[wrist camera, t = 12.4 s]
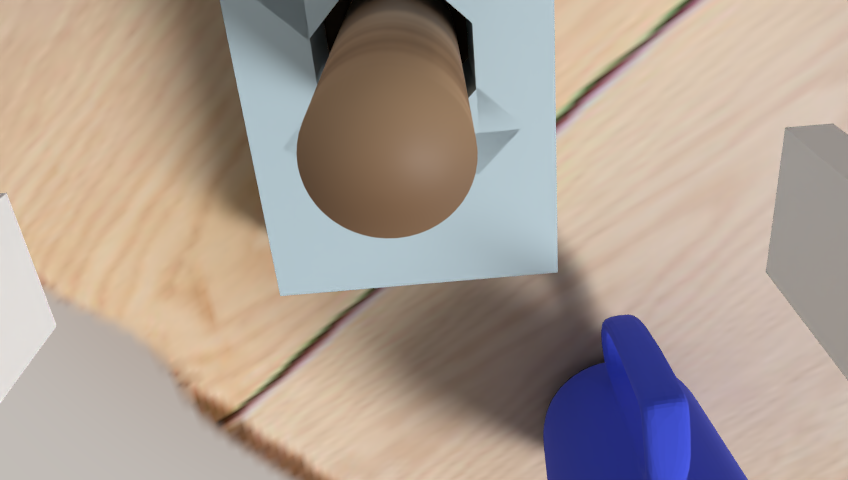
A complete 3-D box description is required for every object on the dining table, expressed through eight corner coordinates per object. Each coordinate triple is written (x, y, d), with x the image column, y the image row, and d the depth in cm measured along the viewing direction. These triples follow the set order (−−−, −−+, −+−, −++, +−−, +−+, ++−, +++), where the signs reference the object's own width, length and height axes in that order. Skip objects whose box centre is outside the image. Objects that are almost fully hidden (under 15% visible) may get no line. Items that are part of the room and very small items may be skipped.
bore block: (209, -207, 24) (175, -215, 21) (530, -242, 24) (550, -254, 21) (295, 244, 32) (280, 295, 28) (541, 222, 31) (557, 272, 28)
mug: (703, 244, 32) (814, 402, 23) (704, 463, 38) (794, 658, 29) (504, 275, 33) (539, 440, 24) (534, 486, 38) (571, 684, 29)
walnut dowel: (335, -19, 27) (282, 77, 16) (450, -29, 27) (471, 60, 16) (350, 94, 29) (311, 245, 18) (458, 84, 29) (482, 231, 18)
